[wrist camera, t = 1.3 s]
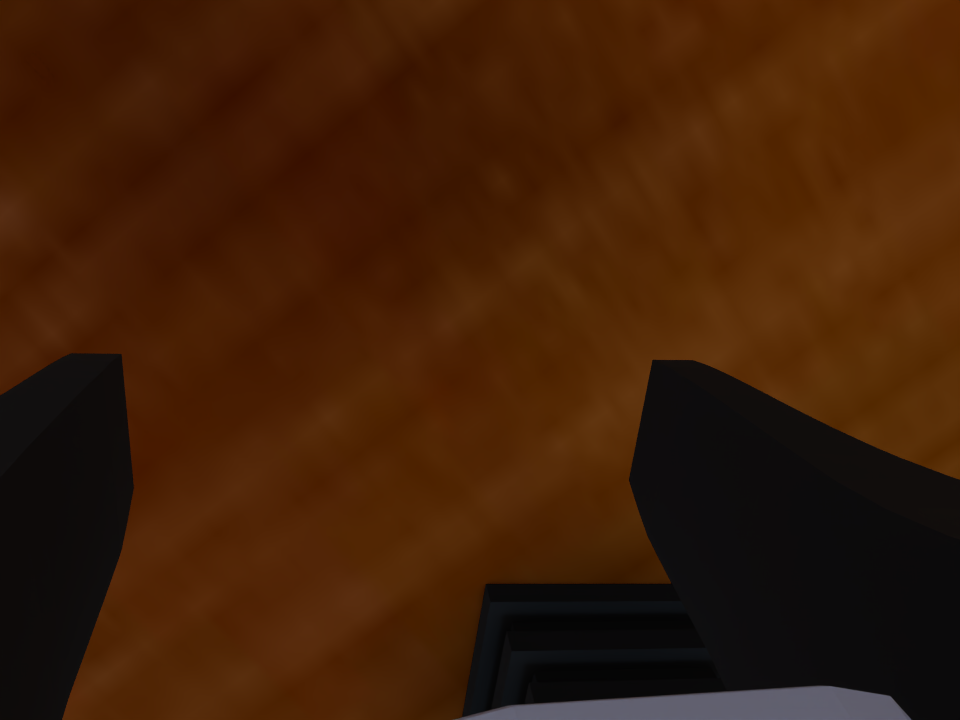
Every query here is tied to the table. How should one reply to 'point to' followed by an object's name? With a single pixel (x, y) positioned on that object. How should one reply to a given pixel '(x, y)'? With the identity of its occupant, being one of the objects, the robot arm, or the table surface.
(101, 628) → the table surface
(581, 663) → the chess piece
